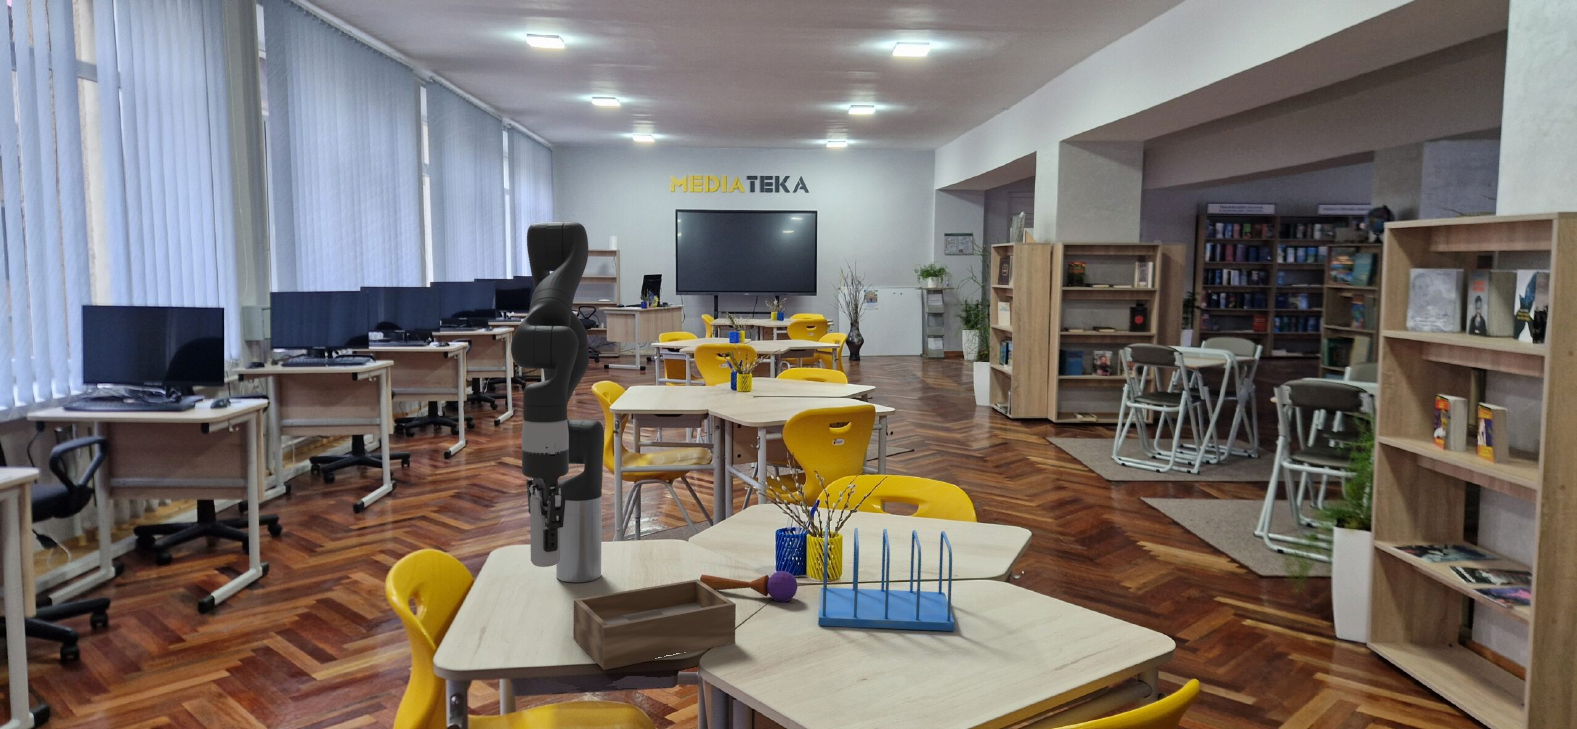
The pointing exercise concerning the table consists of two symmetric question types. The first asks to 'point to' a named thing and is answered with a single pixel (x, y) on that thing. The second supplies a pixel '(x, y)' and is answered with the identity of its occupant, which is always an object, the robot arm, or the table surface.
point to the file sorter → (887, 597)
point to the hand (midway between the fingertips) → (545, 546)
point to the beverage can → (540, 538)
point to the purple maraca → (758, 585)
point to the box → (653, 623)
